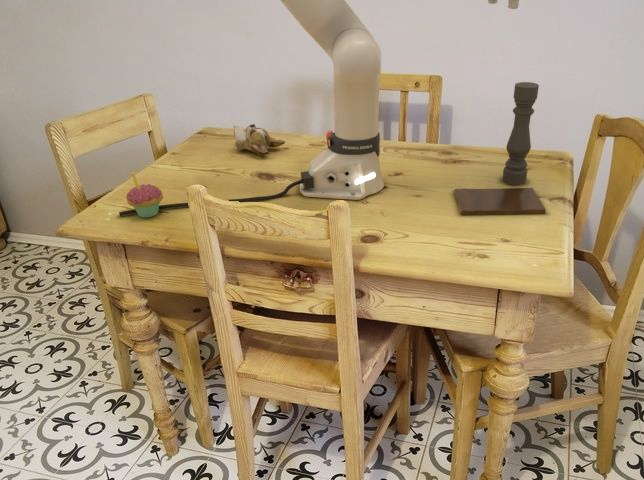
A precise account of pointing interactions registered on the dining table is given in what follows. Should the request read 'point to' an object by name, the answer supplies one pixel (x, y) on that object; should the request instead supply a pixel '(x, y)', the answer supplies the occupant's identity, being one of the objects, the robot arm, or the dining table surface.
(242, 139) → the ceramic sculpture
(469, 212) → the board
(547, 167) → the dining table surface
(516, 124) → the candle holder
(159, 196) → the cupcake
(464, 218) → the dining table surface
